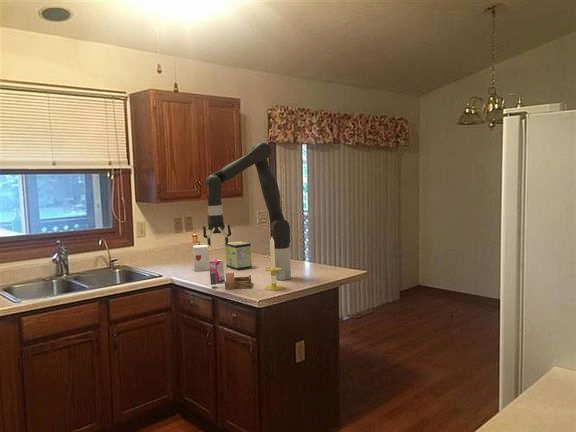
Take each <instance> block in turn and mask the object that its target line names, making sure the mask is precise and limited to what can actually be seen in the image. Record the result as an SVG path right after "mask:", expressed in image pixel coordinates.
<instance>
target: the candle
mask: <svg viewBox="0 0 576 432" xmlns="http://www.w3.org/2000/svg"><path fill="white" fill-rule="evenodd" d="M269 246H270V247H269V248H270V249H269V251H270V267H266V268H265V269H264V271H266V272H270V280H271V284H270V285H266V286H264V289H265V290H266V291H280V290H283V289H284V288H285V287H284V285H281V284H277V280H276V271H279V270H281V268H280V267H275V250H274V236H271V238H270V240H269Z"/></svg>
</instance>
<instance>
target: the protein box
mask: <svg viewBox="0 0 576 432" xmlns="http://www.w3.org/2000/svg"><path fill="white" fill-rule="evenodd" d="M224 243H225V242H224ZM224 246H225V266H226V268H229V269H231V270H234V271H242V270H247V269H252V268H253V264H252V263H253V262H252V248H251V247H252V245H251V243H250V242H245V241H231V242H229V241H228V243H227V244H226V243H225V245H224Z"/></svg>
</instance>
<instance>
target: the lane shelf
mask: <svg viewBox="0 0 576 432" xmlns="http://www.w3.org/2000/svg"><path fill="white" fill-rule="evenodd" d="M251 288H252V275H251V274H248V276H234V282H226V281H225V284H224V289H225V290H236V289H238V290H239V289H240V290H241V289H251Z"/></svg>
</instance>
